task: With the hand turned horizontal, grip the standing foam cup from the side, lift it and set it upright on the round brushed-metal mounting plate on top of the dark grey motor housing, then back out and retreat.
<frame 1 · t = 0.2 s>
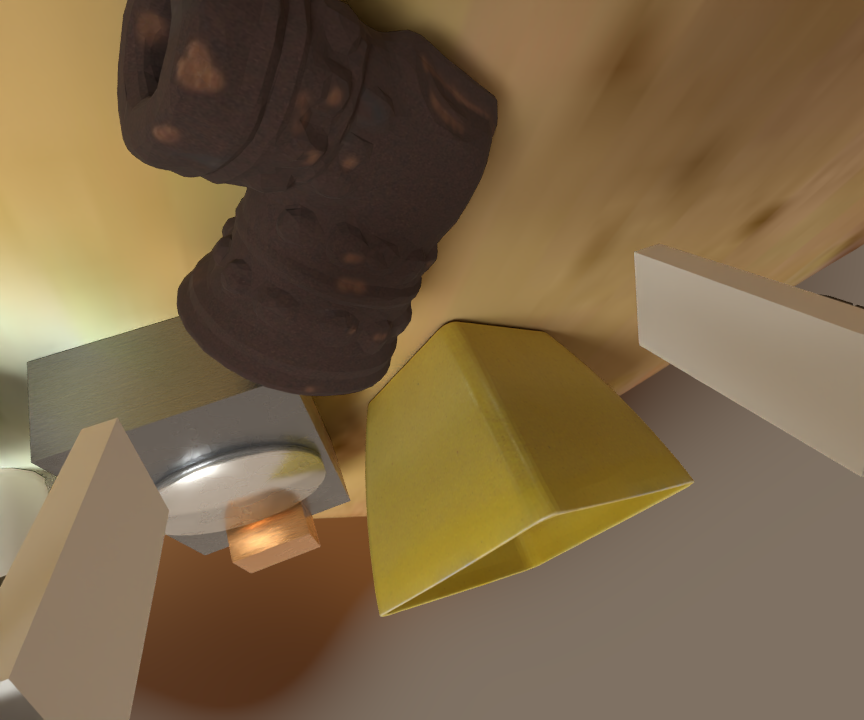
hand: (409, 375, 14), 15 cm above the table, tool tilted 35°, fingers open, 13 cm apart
flower pot: (455, 367, 51), on the table
motor housing: (221, 413, 42), on the table
pipe: (287, 141, 26), on the table
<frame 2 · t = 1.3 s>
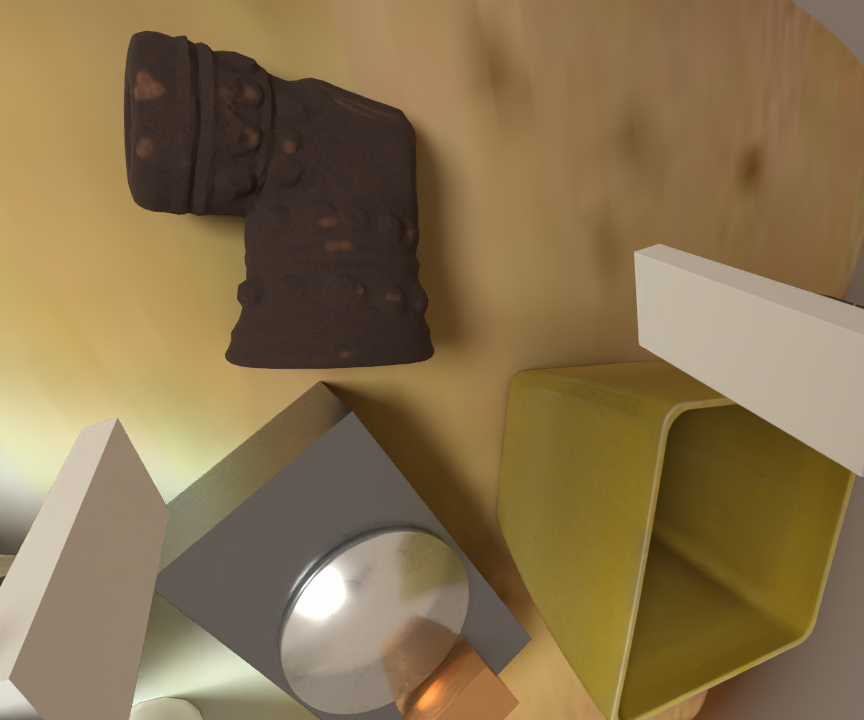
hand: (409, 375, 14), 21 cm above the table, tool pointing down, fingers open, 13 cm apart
flower pot: (562, 440, 47), on the table
motor housing: (345, 563, 40), on the table
pipe: (276, 222, 33), on the table
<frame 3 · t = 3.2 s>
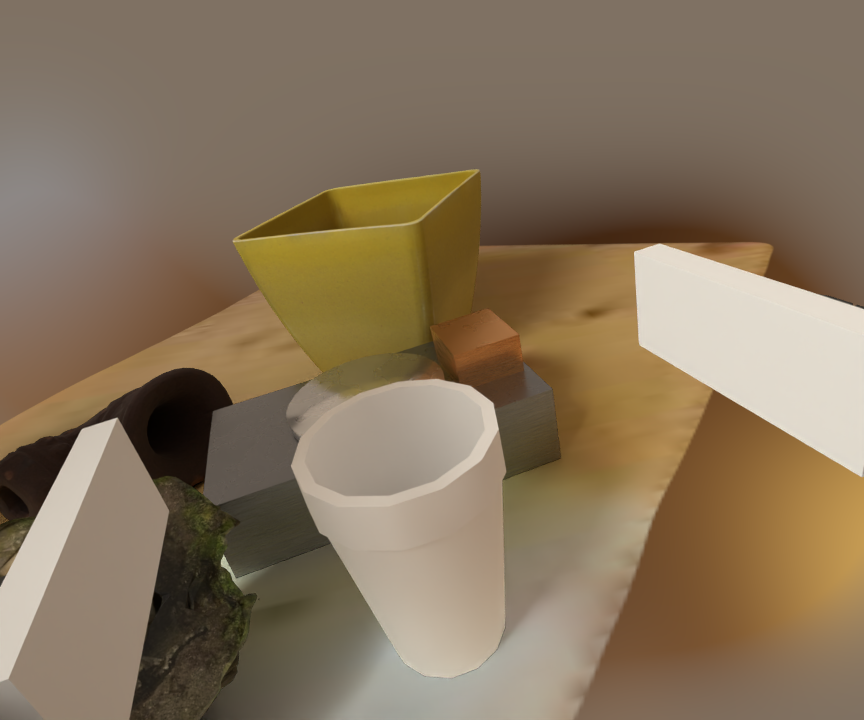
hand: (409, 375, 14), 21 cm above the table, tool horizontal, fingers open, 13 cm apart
flower pot: (402, 353, 63), on the table
motor housing: (386, 463, 46), on the table
foam cup: (449, 625, 32), on the table
pipe: (137, 482, 51), on the table
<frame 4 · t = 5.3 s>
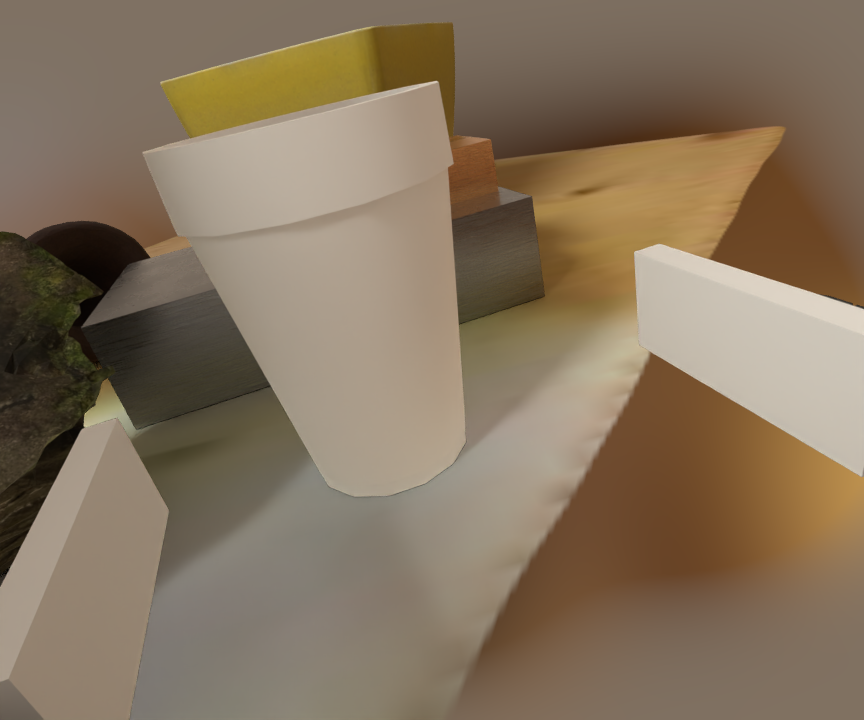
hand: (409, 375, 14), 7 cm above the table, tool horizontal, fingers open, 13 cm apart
flower pot: (368, 242, 56), on the table
motor housing: (336, 321, 38), on the table
foam cup: (393, 449, 24), on the table
pipe: (46, 366, 44), on the table
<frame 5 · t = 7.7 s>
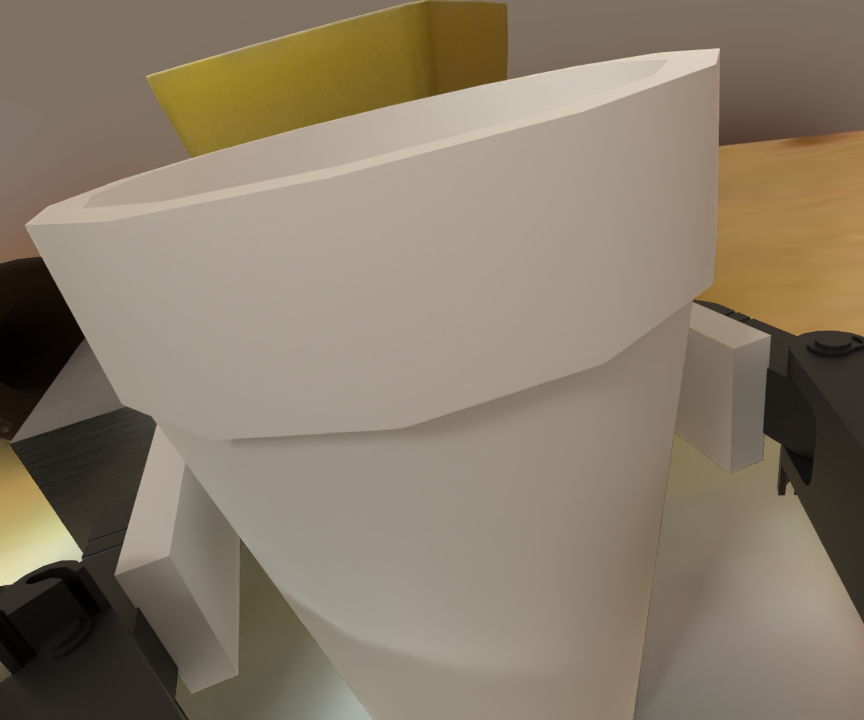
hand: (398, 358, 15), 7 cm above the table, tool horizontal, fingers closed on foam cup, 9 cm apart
flower pot: (400, 269, 46), on the table
motor housing: (376, 392, 28), on the table
foam cup: (506, 672, 14), on the table, touching gripper
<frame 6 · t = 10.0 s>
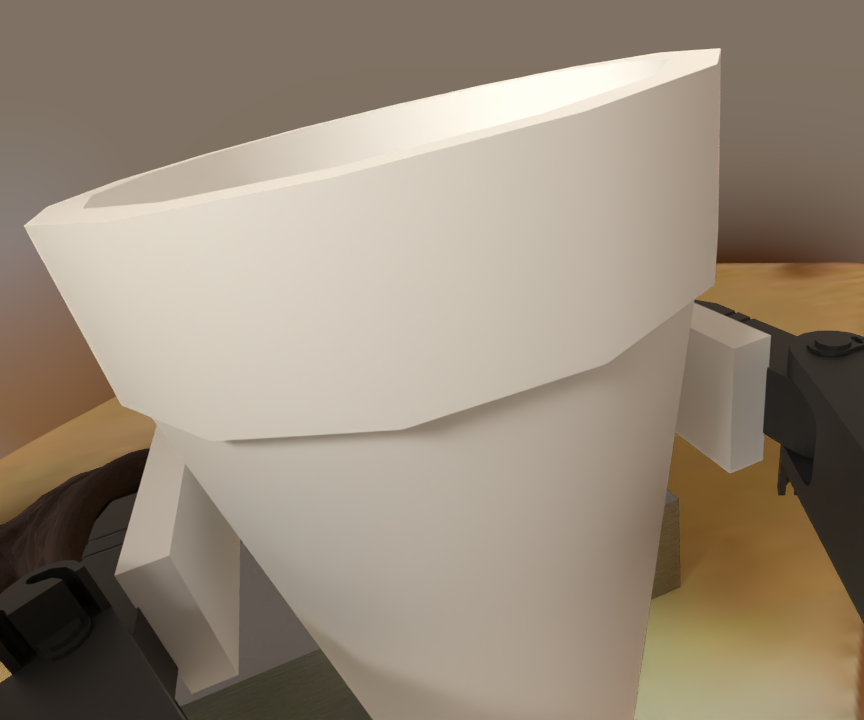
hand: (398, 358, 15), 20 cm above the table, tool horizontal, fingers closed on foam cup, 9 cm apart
motor housing: (430, 583, 33), on the table
foam cup: (507, 672, 14), point 13 cm above the table, touching gripper
pipe: (86, 593, 39), on the table
when the fingers open (15 cm above the table, at t = 12.7 s): foam cup drops 1 cm, resting on motor housing.
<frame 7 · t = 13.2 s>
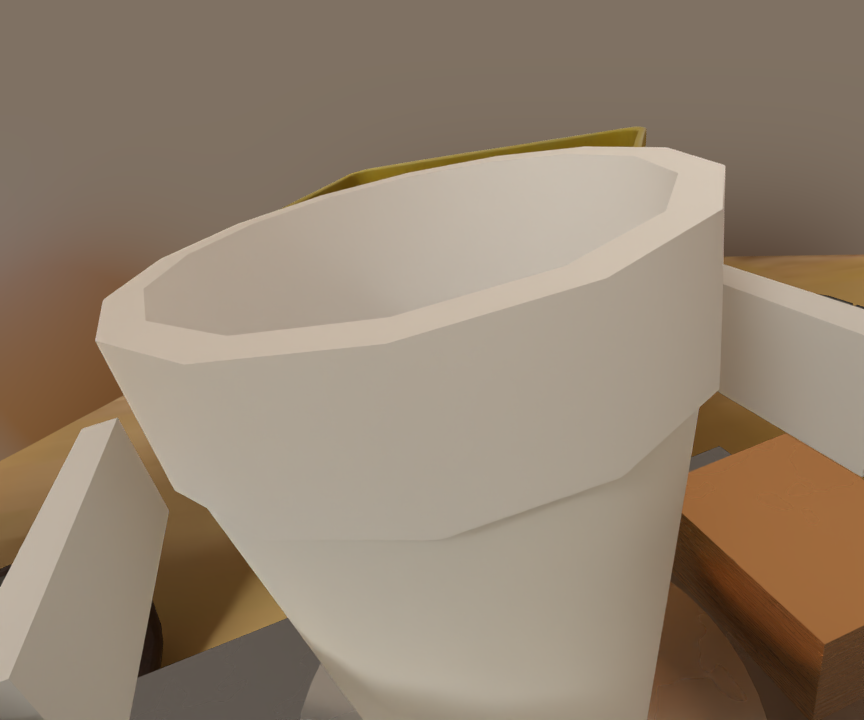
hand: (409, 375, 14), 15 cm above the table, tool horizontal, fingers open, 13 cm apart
flower pot: (492, 455, 36), on the table
foam cup: (517, 708, 15), point 7 cm above the table, touching motor housing
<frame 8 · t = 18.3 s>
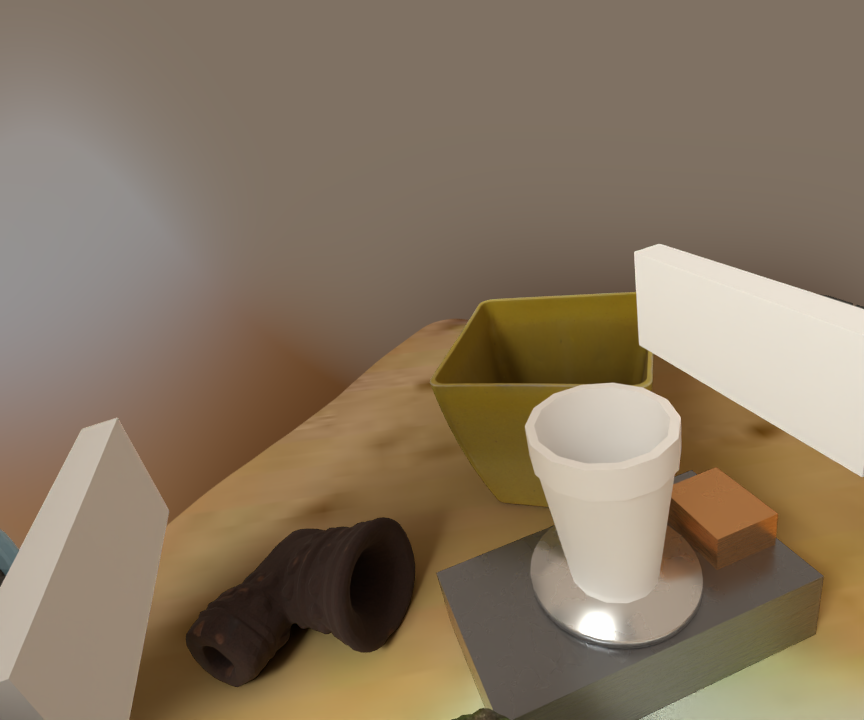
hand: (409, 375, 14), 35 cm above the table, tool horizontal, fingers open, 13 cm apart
flower pot: (567, 470, 63), on the table
motor housing: (618, 627, 45), on the table
foam cup: (613, 569, 42), point 7 cm above the table, touching motor housing
pipe: (319, 625, 52), on the table
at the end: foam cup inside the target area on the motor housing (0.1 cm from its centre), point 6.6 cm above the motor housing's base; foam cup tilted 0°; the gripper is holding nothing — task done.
